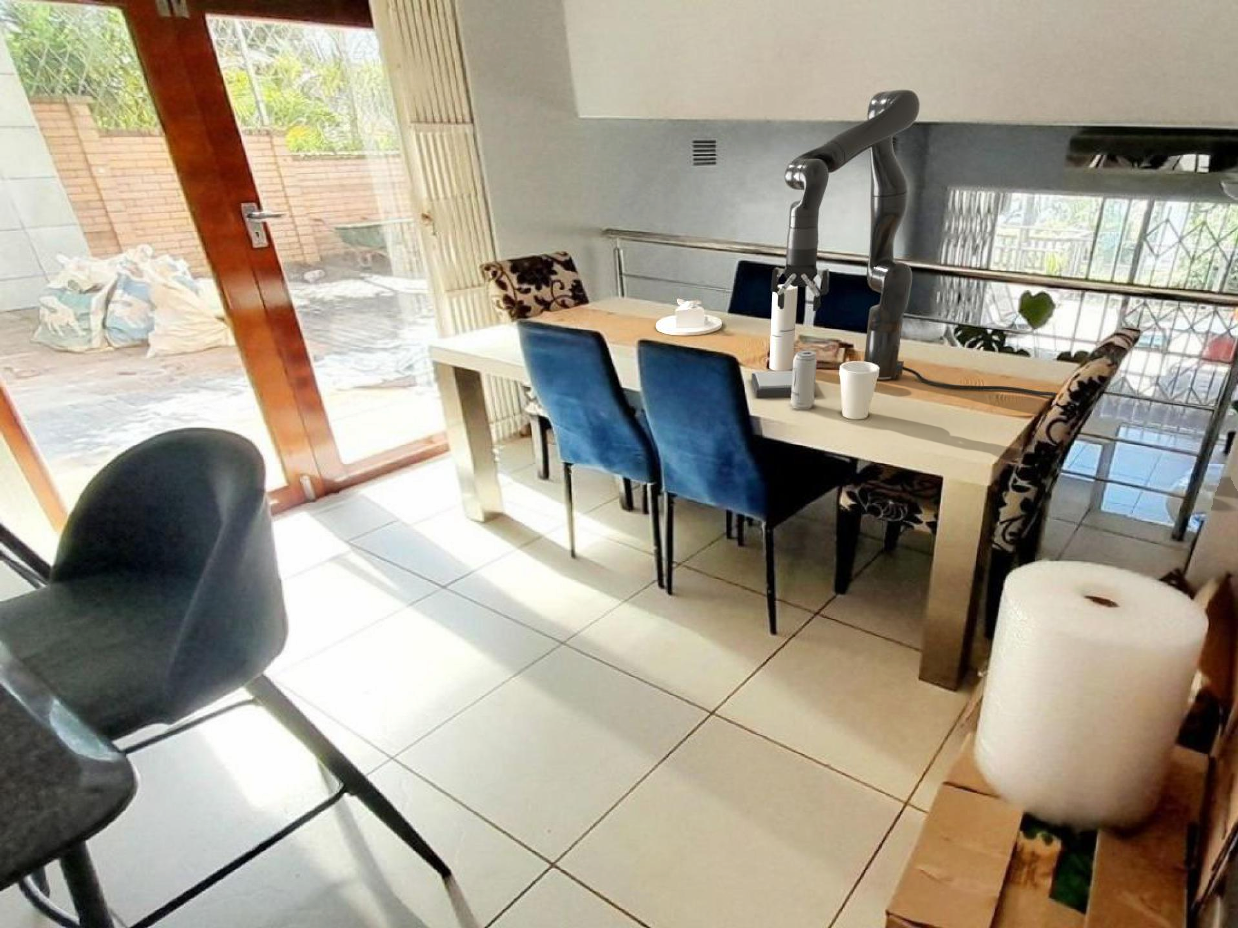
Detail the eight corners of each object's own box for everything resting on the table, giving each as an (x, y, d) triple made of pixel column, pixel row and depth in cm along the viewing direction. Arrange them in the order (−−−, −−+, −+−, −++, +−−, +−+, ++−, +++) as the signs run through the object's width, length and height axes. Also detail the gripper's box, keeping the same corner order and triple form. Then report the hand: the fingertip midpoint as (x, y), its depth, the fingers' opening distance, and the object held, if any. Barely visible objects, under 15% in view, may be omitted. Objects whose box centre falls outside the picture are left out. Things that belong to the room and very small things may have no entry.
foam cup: (868, 424, 178) (873, 375, 172) (831, 418, 182) (835, 370, 176) (877, 410, 185) (882, 363, 179) (842, 405, 189) (846, 359, 184)
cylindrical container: (793, 371, 216) (797, 289, 204) (769, 371, 217) (772, 290, 206) (792, 363, 222) (797, 284, 211) (769, 363, 223) (773, 284, 212)
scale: (805, 379, 209) (806, 369, 207) (814, 396, 196) (815, 385, 195) (751, 380, 210) (751, 370, 209) (756, 398, 198) (756, 387, 196)
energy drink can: (787, 403, 193) (790, 350, 186) (809, 401, 193) (813, 348, 187) (794, 411, 188) (797, 357, 181) (816, 409, 188) (820, 355, 181)
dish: (726, 333, 255) (726, 302, 250) (657, 337, 256) (656, 306, 251) (718, 316, 277) (718, 287, 272) (654, 319, 278) (653, 290, 273)
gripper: (770, 247, 175) (767, 311, 182) (828, 248, 170) (823, 314, 177) (777, 242, 181) (774, 304, 189) (833, 243, 176) (828, 307, 183)
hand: (798, 309), depth 183 cm, fingers open, 8 cm apart
